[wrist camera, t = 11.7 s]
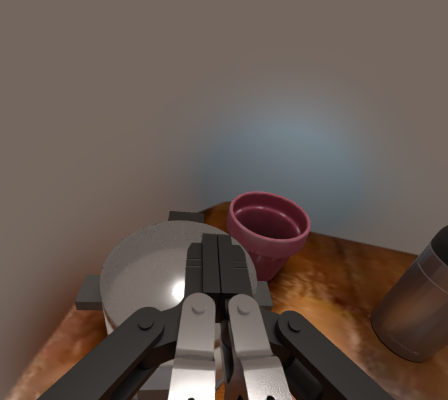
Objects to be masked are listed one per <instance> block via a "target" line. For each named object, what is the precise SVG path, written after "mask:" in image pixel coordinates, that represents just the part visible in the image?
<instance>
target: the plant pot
mask: <svg viewBox="0 0 448 400" xmlns="http://www.w3.org/2000/svg"><path fill="white" fill-rule="evenodd" d="M310 227H311V223H310V219H309V217H308V215H307V214H306V212H305V211H304V210H303V209H302V208H301V207H300V206H299V205H297V204H295V203H294V202H292V201H291V200H289V199H287V198H285V197H282V196H279V195H276V194H272V193H268V192H248V193H244V194H241V195H239V196H237V197H236V198H235V199H234V200H233V201H232V202H231V204H230V208H229V212H228V216H227V229H228V232H229V234H230V235H231V237H233V238H234V239H235V240H237V241H238V242H239V243H240V244H241V245H242V246H243V248H244V249H245V250H246V251H247V253H248V254H249V256H250V257H251V260H252V262H253V264H254V267H255V270H256V276H257V281H269V280H271V279H272V278H273V277H274V276H275V275H276V274H277V272H278V271H279V270H280V269H281V268H282V266H283V265H284V264H285V263H286V261H287V260H288V259H289V257H290V256H292V255H294V254H296V253H298V252H299V251H300V250H301V249H302V247H303V246H304V244H305V241H306V239H307V236H308V234H309V231H310Z"/></svg>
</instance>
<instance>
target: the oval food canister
mask: <svg viewBox="0 0 448 400" xmlns="http://www.w3.org/2000/svg"><path fill="white" fill-rule="evenodd" d="M100 276H101V275H87V276H86V278H85V280H84V282H83V284H82V287H81V289H80V291H79V293H78V296H77V298H76V300H75V304H76V308H77V310H103V311H104V309H103V304H102V299H101V293H100ZM254 299H255V301H256V302H257V303H258V305H259V306H261V307H262V308H264V309H265V310H268V311H270V312H271V310H272V307H273V303H272V299H271V295H270V292H269V288H268V284H267V281H257V290H256V296H255V298H254ZM104 317H105V322H106V327H107V333H108V335H109V334H110V333H112V332H113V331H114V330H113V328H112V327H111V325H110V324H109V322H108V320H107V318H106V315H105V313H104ZM214 359H215V392H216V391H217V390H218V388H219V387H220V386H221V385H222V384H223V382H224V375H223V368H222V360H221V352H220V346H219V347H217V348H215V349H214ZM173 364H174V359H173V360H170V361H168V362H165V363H163V364H160V366H159V367H158V368H157V369H156V371H155V372H154V373H153V374H152V375H151V376H150V378H149V379H148V380H147V381H146V382H145V384H144V385H143V386H142V387H141V388H140V390H139V391H138V392H137V393H136V394H135V396H134V397H133V398H132V400H168V396H169V390H170V383H171V377H172V370H173Z"/></svg>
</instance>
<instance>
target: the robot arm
mask: <svg viewBox="0 0 448 400" xmlns="http://www.w3.org/2000/svg"><path fill="white" fill-rule="evenodd" d="M371 322H372V326H373V328H374V330H375V332H376V334H377V335H378V337H379V338H380V339H381V341H382V342H383V343H384V344H385V345H386V346H387V347H388V348H389V349H391V350H392V351H393V352H395V353H396V354H397V355H399V356H401V357H403V358H405V359H407V360H410V361H414V362H423V361H426V360H428V359H429V358H430V357H431V356H433V355H434V354H435V353H437V352H438V351H439V350H440V349H442V348H443V347H444V346H446V345H447V344H448V226H445V227H444V228H442V229H441V230H440V231H439V232H438V233H437V234H436V235H435V237H434V238H433V239H432V241H431V242H430V243H429V244H428V245H427V246H426V248H425V249H424V250H423V251H422V253H421V254H420V255H419V256H418V257H417V259H416V260H415V261H414V262H413V264H412V265H411V266H410V267H409V268H408V270H407V271H406V272H405V273H404V274H403V276H402V277H401V278H400V279H399V280H398V282H397V283H396V284H395V285H394V287H393V288H392V289H391V290H390V291H389V293H388V294H387V295H386V296H385V297H384V298H383V300H382V301H381V302H380V303H379V305H378V306H377V307H376V308H375V309H374V311H373V312H372V315H371ZM215 323H220V328H221V333H220V336H219V344H220V352H221V360H222V368H223V375H224V384H225V395H224V400H292V398H291V394H292V395H293V396H294V397H295V399H296V400H395V399H393V398H392V397H391V396H390V395H389V394H388V393H387V392H386V391H385V390H384V389H382V388H381V387H380V386H379V385H378V384H377V383H376V382H375V381H374V380H373V379H371V378H370V377H369V376H368V375H367V374H366V373H365V372H364V371H363V370H362V369H360V368H359V367H358V366H357V365H356V364H355V363H354V362H353V361H352V360H351V359H350V358H348V357H347V356H346V355H345V354H344V353H343V352H342V351H341V350H340V349H339V348H337V347H336V346H335V345H334V344H333V343H332V342H331V341H330V340H329V339H328V338H326V337H325V336H324V335H323V334H322V333H321V332H320V331H319V330H318V329H317V328H315V327H314V326H313V325H312V324H311V323H310V322H309V321H308V320H307V319H306V318H304V317H303V316H302V315H301V314H299V313H297V312H295V311H285V312H283V313H281V315H279V314H276V313H273V312H270V311H268V310H265V309H264V308H262V307H261V306H259V305H258V303H257V302H256V301H255V299H254V297H253V294H252V289H251V283H250V278H249V272H248V267H247V263H246V256H245V252H244V251H243V249H242V248H241V246H240V245H232V239H231V235H226V234H217V235H216V234H210V233H202V239H201V243H194V242H192V243H191V245H190V246H189V248H188V250H187V259H186V269H185V284H184V297H183V299H182V300H181V302H180V303H179V304H178V305H176V306H175V307H173V308H170V309H167V310H164V311H160V310H158V309H157V308H154V307H143V308H140V309H138V310H136V311H135V312H134V313H133V314H132V315H131V316H129V317H128V318H127V319H126V320H125V321H124V322H123V323H122V324H120V325H119V326H118V327H117V328H116V329H115V330H114V331H113V332H112V333H110V334H109V335H108V336H107V337H106V338H105V339H104V340H103V341H101V342H100V343H99V344H98V345H97V346H96V347H95V348H94V349H93V350H91V351H90V352H89V353H88V354H87V355H86V356H85V357H84V358H82V359H81V360H80V361H79V362H78V363H77V364H76V365H75V366H73V367H72V368H71V369H70V370H69V371H68V372H67V373H66V374H65V375H63V376H62V377H61V378H60V379H59V380H58V381H57V382H56V383H54V384H53V385H52V386H51V387H50V388H49V389H48V390H47V391H46V392H44V393H43V394H42V395H41V396H40V397H39V398H38V399H37V400H131V399H132V398H133V397H134V396H135V394H136V393H137V392H138V391H139V390H140V388H141V387H142V386H143V385H144V384H145V382H146V381H147V380H148V379H149V378H150V376H151V375H152V374H153V373H154V372H155V371H156V369H157V368H158V367H159V366H160V364H163V363H165V362H168V361H170V360H173V359H174V364H173V370H172V377H171V383H170V390H169V396H168V400H215V359H214V337H215ZM290 393H291V394H290Z"/></svg>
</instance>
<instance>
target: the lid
mask: <svg viewBox="0 0 448 400" xmlns="http://www.w3.org/2000/svg"><path fill="white" fill-rule="evenodd" d="M202 233H210V234H216V235H217V234H226V235H229V234H227V233H225V232H224V231H222V230H220V229H218V228H215V227H213V226H210V225H207V224H204V214H203V213H190V212H189V213H188V212H176V211H170V213H169V220H168V221H167V222H160V223H156V224H152V225H149V226H146V227H144V228H142V229H139V230H137V231H135V232H133V233H131V234H130V235H128V236H127V237H126V238H124V239H123V240H122V241H121V242H119V243H118V244H117V246H116V247H115V248H114V249H113V250H112V251H111V253H110V254H109V256H108V257H107V259H106V261H105V263H104V265H103V268H102V271H101V276H100V293H101V299H102V304H103V309H104V313H105V315H106V318H107V320H108V322H109V324H110V325H111V327H112V328H113V330H115V329H116V328H117V327H118V326H119V325H120V324H122V323H123V322H124V321H125V320H126V319H127V318H128V317H129V316H131V315H132V314H133V313H134V312H135V311H136V310H138V309H140V308H143V307H154V308H157V309H158V310H160V311H164V310H167V309H170V308H173V307H175V306H176V305H178V304H179V303H180V302H181V300H182V299H183V297H184V284H185V269H186V259H187V250H188V248H189V246H190V245H191V243H192V242H194V243H201V239H202ZM231 239H232V245H240V246H241V248H242V249H243V251H244V252H245V256H246V263H247V267H248V272H249V278H250V283H251V289H252V294H253V297H254V298H255V296H256V290H257V276H256V270H255V267H254V264H253V262H252V260H251V257H250V256H249V254H248V253H247V251H246V250H245V249H244V248H243V246H242V245H241V244H240V243H239V242H238V241H237V240H235V239H234V238H233V237H231ZM220 333H221V328H220V323H215V337H214V349H215V348H217V347H219V346H220V344H219V336H220Z"/></svg>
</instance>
